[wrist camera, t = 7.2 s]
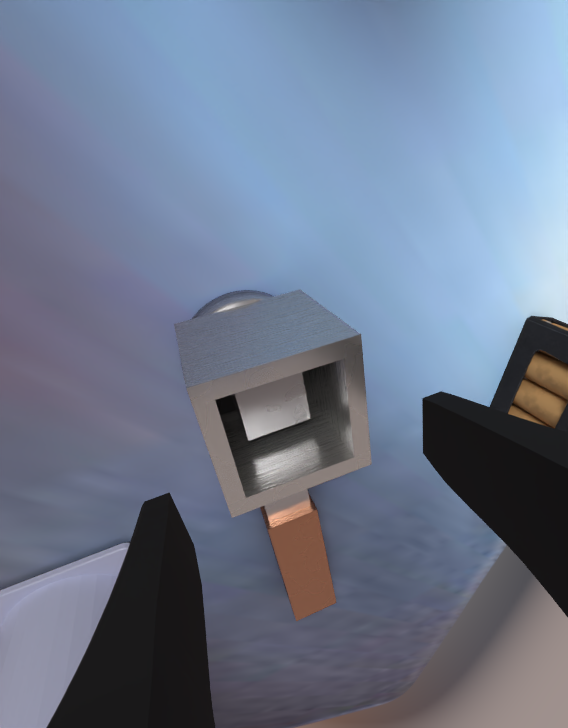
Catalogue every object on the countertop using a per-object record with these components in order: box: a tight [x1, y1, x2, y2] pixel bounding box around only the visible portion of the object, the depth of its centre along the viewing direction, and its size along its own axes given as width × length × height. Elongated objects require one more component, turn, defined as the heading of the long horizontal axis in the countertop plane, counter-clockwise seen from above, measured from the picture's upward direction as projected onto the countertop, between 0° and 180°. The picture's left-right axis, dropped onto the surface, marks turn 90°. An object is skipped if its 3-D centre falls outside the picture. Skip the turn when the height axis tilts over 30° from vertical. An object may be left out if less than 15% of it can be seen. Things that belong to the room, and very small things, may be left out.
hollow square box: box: [174, 289, 372, 518], centre depth 14 cm, size 5×5×5 cm
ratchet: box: [181, 290, 336, 621], centre depth 19 cm, size 21×6×4 cm, turn 11°
